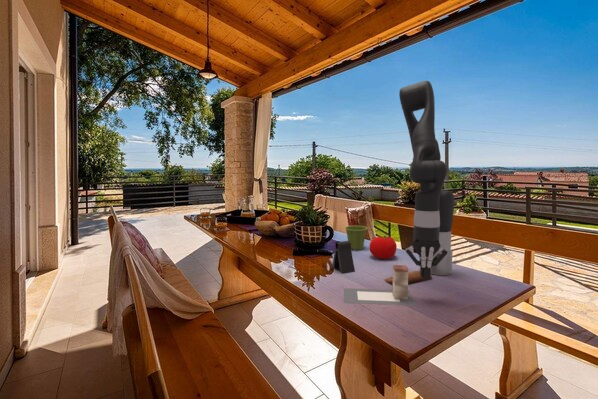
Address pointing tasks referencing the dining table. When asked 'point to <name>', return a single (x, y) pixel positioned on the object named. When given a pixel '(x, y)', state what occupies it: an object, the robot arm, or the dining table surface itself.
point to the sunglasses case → (410, 278)
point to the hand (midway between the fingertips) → (425, 278)
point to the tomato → (383, 247)
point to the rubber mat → (375, 297)
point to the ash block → (400, 282)
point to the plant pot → (356, 236)
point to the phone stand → (343, 257)
